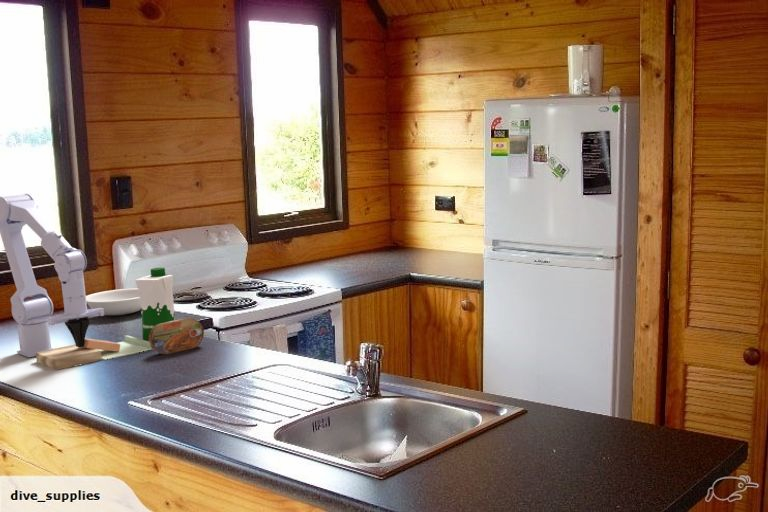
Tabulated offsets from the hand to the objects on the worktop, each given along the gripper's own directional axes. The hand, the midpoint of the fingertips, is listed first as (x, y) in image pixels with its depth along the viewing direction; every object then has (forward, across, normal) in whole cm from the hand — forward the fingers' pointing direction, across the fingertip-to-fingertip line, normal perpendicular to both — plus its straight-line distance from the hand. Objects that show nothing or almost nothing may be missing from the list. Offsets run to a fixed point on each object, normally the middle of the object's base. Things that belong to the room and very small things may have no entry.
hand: (80, 346), depth 243 cm
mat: (+3, +10, 0) cm, 11 cm away
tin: (+3, +21, -15) cm, 26 cm away
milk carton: (+3, +25, +3) cm, 25 cm away
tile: (+2, +5, 0) cm, 5 cm away
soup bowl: (+3, +34, +50) cm, 61 cm away
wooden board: (+3, -3, 0) cm, 5 cm away
